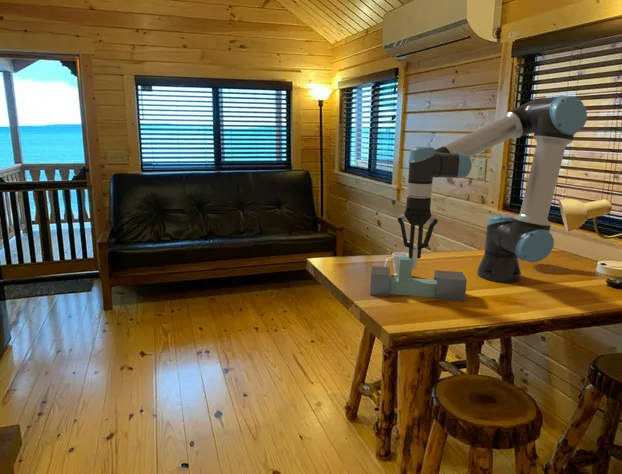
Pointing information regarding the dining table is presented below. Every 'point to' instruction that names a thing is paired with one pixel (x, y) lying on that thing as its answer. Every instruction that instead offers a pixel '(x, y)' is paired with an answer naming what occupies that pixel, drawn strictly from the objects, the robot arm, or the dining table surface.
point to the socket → (380, 281)
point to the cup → (396, 261)
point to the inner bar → (410, 282)
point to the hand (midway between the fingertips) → (413, 267)
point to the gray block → (450, 285)
